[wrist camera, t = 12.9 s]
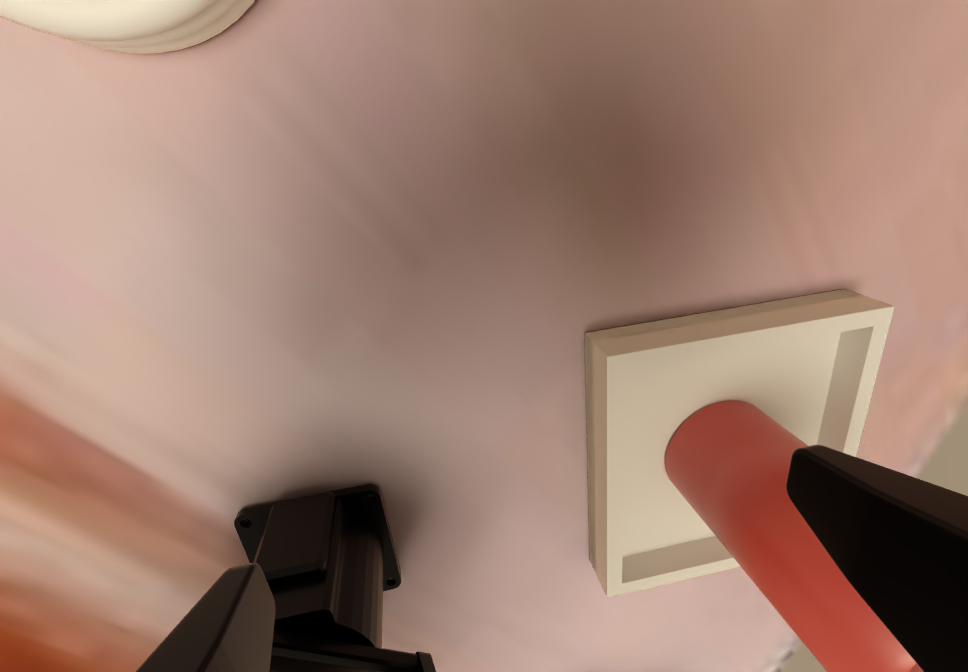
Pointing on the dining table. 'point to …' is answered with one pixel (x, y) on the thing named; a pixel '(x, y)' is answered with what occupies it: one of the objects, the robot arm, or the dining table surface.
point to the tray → (696, 385)
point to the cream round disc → (128, 21)
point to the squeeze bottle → (776, 534)
